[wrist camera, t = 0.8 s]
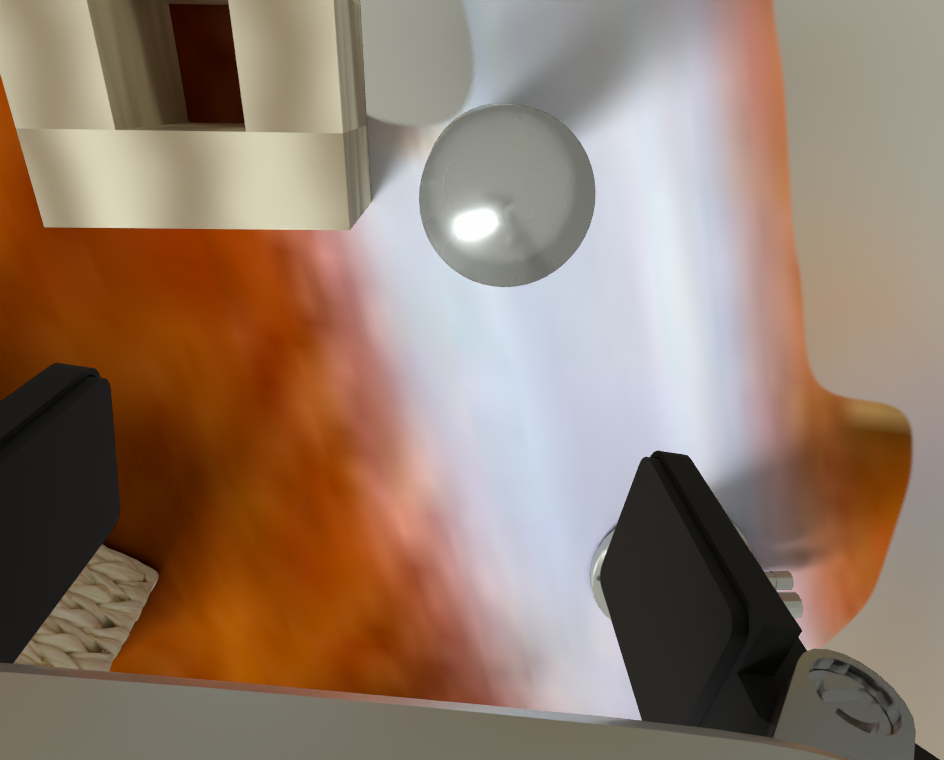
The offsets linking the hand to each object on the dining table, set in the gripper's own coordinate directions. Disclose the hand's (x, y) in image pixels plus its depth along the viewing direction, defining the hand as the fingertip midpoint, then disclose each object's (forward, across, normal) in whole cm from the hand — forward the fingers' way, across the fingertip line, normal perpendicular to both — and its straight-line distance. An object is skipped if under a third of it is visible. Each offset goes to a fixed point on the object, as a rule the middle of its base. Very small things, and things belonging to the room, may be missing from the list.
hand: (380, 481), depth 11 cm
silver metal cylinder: (+28, -3, -3) cm, 28 cm away
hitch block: (+28, +11, -5) cm, 30 cm away
